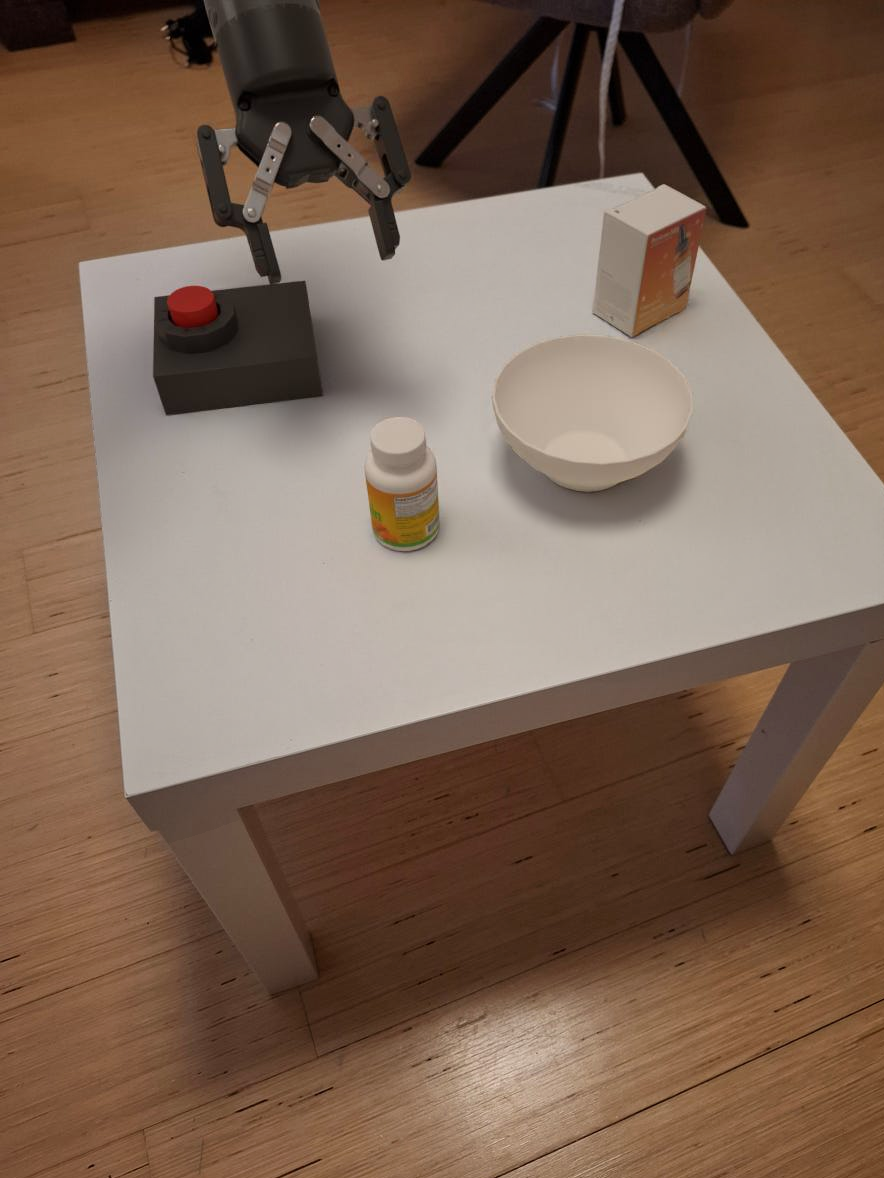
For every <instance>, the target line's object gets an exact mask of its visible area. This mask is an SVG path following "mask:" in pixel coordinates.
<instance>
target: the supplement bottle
mask: <svg viewBox="0 0 884 1178" xmlns="http://www.w3.org/2000/svg"><path fill="white" fill-rule="evenodd" d="M369 439H370V448H371V449H370V451H368V453H367V455H366V457H365V460H364V477H365V484H366V492H367V499H368V507H369V514H370V515H369V516H370V523H371V528H372V533H373V535H374V537H375V538H376V540H377V541H378V542H379V543H380V544H381V545H383V546H384V547H385V548H387V549H391V550H393V551H398V552H410V551H416V550H419V549H421V548H424V547H425V546H427V545H428V544H430V543H431V542H432V541H433V540H434V539H435V538H436V536H437V535H438V533H439V530H440V504H439V485H438V483H439V482H438V466H437V459H436V456H435V454H434V452H433V451H432V450H431V448H430V447H429V446H428V445H427V437H426V430H425V428H424V427H423V425H422V424H421V423H420V422H419V421H416V420H415V419H413V418H410V417H406V416H395V417H394V416H392V417H387V418H386V419H383V420H381V421H379V422H378V423H376V424H375V425H374V427H373V428H372V429H371V432H370V438H369Z"/></svg>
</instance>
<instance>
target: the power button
mask: <svg viewBox="0 0 884 1178" xmlns="http://www.w3.org/2000/svg"><path fill="white" fill-rule="evenodd" d="M212 291H213V290H211V289H209V288H208V287H206V286H202V285H186V286H183V287H180V288H177V289H175V290H174V291H172V292H171V293H170V294H169V295H170V296H169V297H168V300H167V304H168V307H169V310H170V314H171V317H172V320H173V322H174V323H175V324H176V325H177V326H179V327H184V328H194V327H202V326H204V325H206V324H209V323H211V322H213V321H214V320H215V319H216V318H217V316H218V310H217V306H216V302H215V298H214V294H213V293H212Z"/></svg>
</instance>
